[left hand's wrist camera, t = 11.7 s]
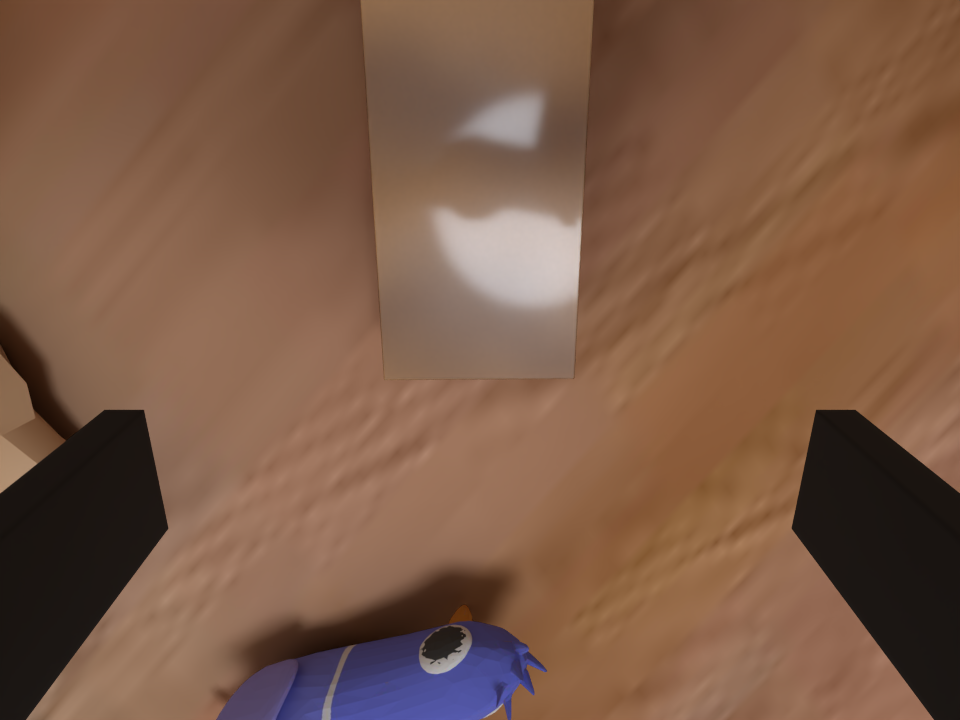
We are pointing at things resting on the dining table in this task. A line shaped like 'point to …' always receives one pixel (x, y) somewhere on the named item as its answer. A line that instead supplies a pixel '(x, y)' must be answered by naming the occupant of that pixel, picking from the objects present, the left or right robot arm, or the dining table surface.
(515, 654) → the toy
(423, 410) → the dining table surface
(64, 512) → the left robot arm
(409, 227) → the slab
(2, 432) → the squash
